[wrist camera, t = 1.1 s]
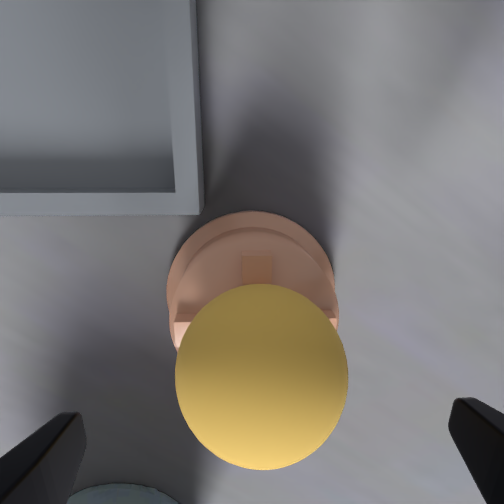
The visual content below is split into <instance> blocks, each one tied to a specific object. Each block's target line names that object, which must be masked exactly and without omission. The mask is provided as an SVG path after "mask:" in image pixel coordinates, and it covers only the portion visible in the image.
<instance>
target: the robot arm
mask: <svg viewBox="0 0 504 504" xmlns="http://www.w3.org/2000/svg"><path fill="white" fill-rule="evenodd" d="M448 427H449V432H450V434H451V437H452V439H453V440H454V442H455V444H456V446H457V448H458V450H459V452H460V454H461V456H462V458H463V460H464V462H465V464H466V465H467V467H468V469H469V471H470V473H471V475H472V477H473V479H474V481H475V483H476V485H477V487H478V489H479V490H480V492H481V494H482V496H483V498H484V500H485V501H486V503H487V504H504V414H503V413H501V412H499V411H497V410H496V409H494V408H492V407H490V406H488V405H487V404H485V403H483V402H481V401H479V400H478V399H476V398H471V397H467V398H456V399H455V400H454V402H453V406H452V410H451V414H450V418H449V423H448ZM85 448H86V434H85V429H84V424H83V419H82V415H81V414H80V413H79V412H63V413H60V414H58V415H57V416H55V417H54V418H53V419H51V420H50V421H49V422H47V423H46V424H45V425H43V426H42V427H41V428H39V429H38V430H37V431H35V432H34V433H33V434H31V435H30V436H29V437H27V438H26V439H25V440H23V441H22V442H21V443H19V444H18V445H17V446H15V447H14V448H13V449H11V450H10V451H9V452H7V453H6V454H5V455H3V456H2V457H1V458H0V504H67V501H68V498H69V495H70V492H71V489H72V487H73V484H74V481H75V478H76V475H77V472H78V469H79V466H80V463H81V461H82V458H83V455H84V452H85Z"/></svg>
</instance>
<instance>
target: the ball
mask: <svg viewBox="0 0 504 504" xmlns="http://www.w3.org/2000/svg"><path fill="white" fill-rule="evenodd" d="M175 387H176V393H177V398H178V402H179V405H180V408H181V411H182V414H183V416H184V418H185V420H186V422H187V424H188V426H189V428H190V429H191V430H192V432H193V433H194V435H195V436H196V437H197V439H198V440H199V441H200V442H201V443H202V444H203V445H204V446H205V447H206V448H207V449H209V450H210V451H211V452H212V453H214V454H215V455H216V456H218V457H219V458H221V459H223V460H224V461H227V462H229V463H231V464H234V465H237V466H240V467H243V468H248V469H255V470H270V469H277V468H282V467H286V466H289V465H292V464H294V463H296V462H298V461H300V460H302V459H304V458H305V457H307V456H308V455H310V454H311V453H313V452H314V451H315V450H316V449H317V448H319V447H320V446H321V445H322V444H323V443H324V441H325V440H326V439H327V438H328V436H329V435H330V434H331V432H332V431H333V429H334V428H335V426H336V424H337V422H338V421H339V418H340V416H341V413H342V411H343V408H344V405H345V400H346V395H347V390H348V367H347V360H346V355H345V351H344V348H343V344H342V342H341V340H340V338H339V335H338V333H337V331H336V329H335V327H334V326H333V324H332V323H331V321H330V320H329V319H328V317H327V316H326V315H325V314H324V313H323V311H322V310H321V309H320V308H319V307H317V306H316V305H315V304H314V303H313V302H311V301H310V300H309V299H308V298H306V297H304V296H303V295H301V294H299V293H297V292H295V291H293V290H290V289H288V288H285V287H281V286H277V285H271V284H249V285H244V286H239V287H236V288H233V289H230V290H228V291H226V292H224V293H222V294H220V295H219V296H217V297H216V298H214V299H213V300H211V301H210V302H209V303H208V304H206V305H205V306H204V307H203V308H202V309H201V310H200V311H199V312H198V313H197V315H196V316H195V317H194V319H193V320H192V322H191V323H190V325H189V326H188V328H187V330H186V332H185V334H184V336H183V338H182V340H181V343H180V346H179V349H178V354H177V359H176V366H175Z"/></svg>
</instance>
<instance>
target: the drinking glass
mask: <svg viewBox="0 0 504 504" xmlns="http://www.w3.org/2000/svg"><path fill="white" fill-rule="evenodd" d="M67 504H179V503H178V502H177V501H175V500H174V499H172V498H171V497H169V496H167V495H166V494H164V493H162V492H159V491H158V490H157V489H155V488H150V487H144V486H143V485H135V484H125V483H124V484H107V485H99V486H97V487H95V486H93V487H90V488H86V489H84V490H81V491H79V492H77V493H75V494H74V495H72V496H70V497H69V498H68V501H67Z"/></svg>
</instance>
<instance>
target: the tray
mask: <svg viewBox="0 0 504 504" xmlns="http://www.w3.org/2000/svg"><path fill="white" fill-rule="evenodd" d="M204 206H205V200H204V176H203V152H202V128H201V105H200V81H199V57H198V33H197V9H196V0H0V216H115V215H200V213H201V212H202V210H203V208H204Z"/></svg>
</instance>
